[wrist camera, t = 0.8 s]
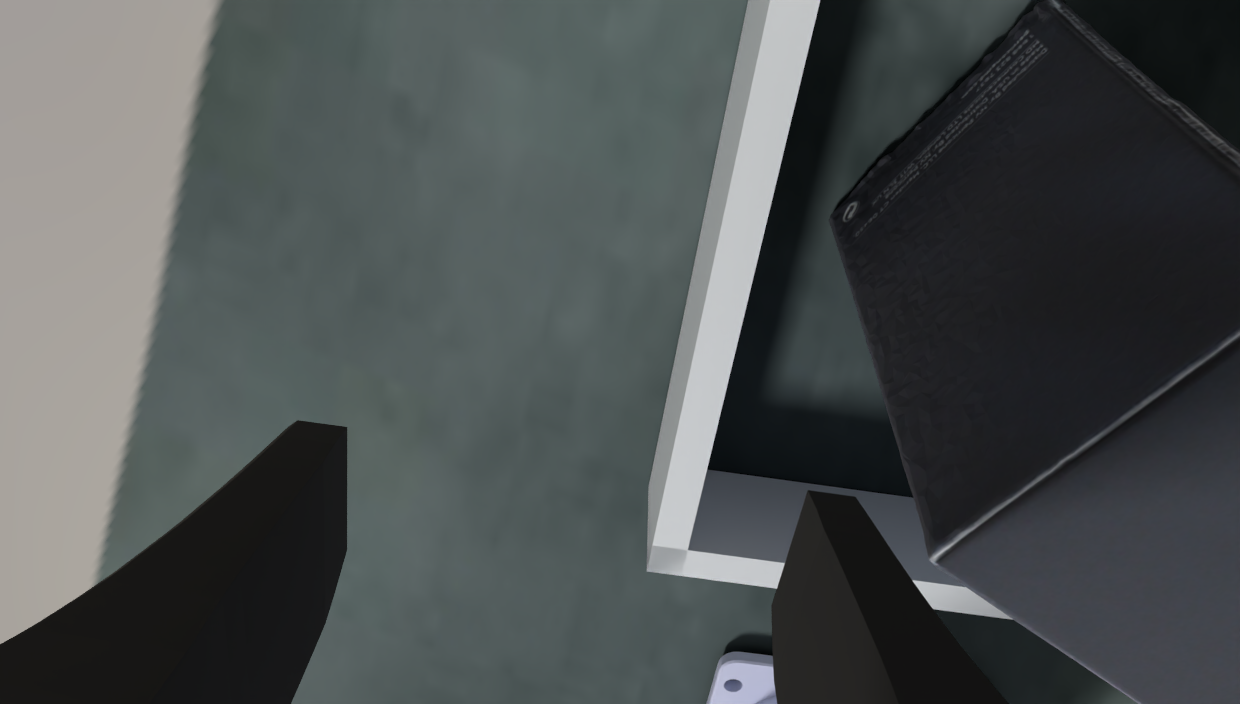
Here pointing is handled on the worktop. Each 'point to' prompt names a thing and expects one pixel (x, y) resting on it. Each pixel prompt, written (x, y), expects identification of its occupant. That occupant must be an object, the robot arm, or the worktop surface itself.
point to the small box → (1067, 353)
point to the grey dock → (718, 294)
